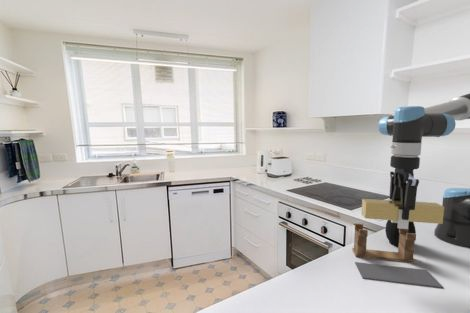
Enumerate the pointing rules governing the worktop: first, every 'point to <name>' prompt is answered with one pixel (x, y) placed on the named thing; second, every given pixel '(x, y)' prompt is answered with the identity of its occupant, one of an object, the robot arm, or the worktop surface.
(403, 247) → the rack
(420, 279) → the mat
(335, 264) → the worktop surface
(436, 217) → the rail
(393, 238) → the bottle
